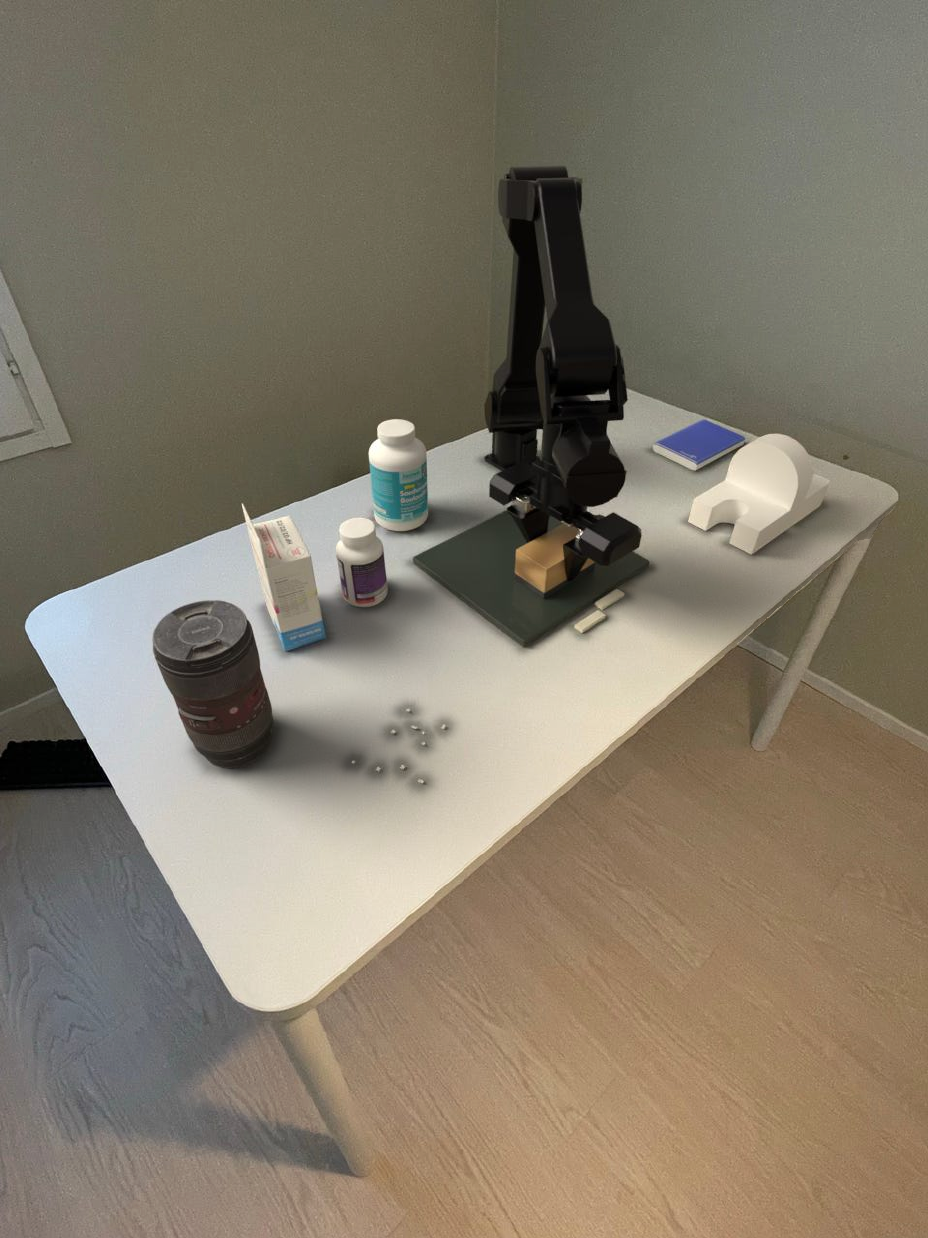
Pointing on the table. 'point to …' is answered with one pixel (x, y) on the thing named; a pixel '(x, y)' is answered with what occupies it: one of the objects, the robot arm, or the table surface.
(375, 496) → the pill bottle
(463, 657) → the table surface
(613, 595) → the chalk stroke
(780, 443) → the block with arch cutout
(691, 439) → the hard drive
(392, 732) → the crumbs
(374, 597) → the pill bottle
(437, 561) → the chalkboard
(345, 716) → the table surface
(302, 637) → the ink box
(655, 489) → the table surface
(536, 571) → the eraser
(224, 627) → the camera lens
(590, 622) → the chalk stroke
